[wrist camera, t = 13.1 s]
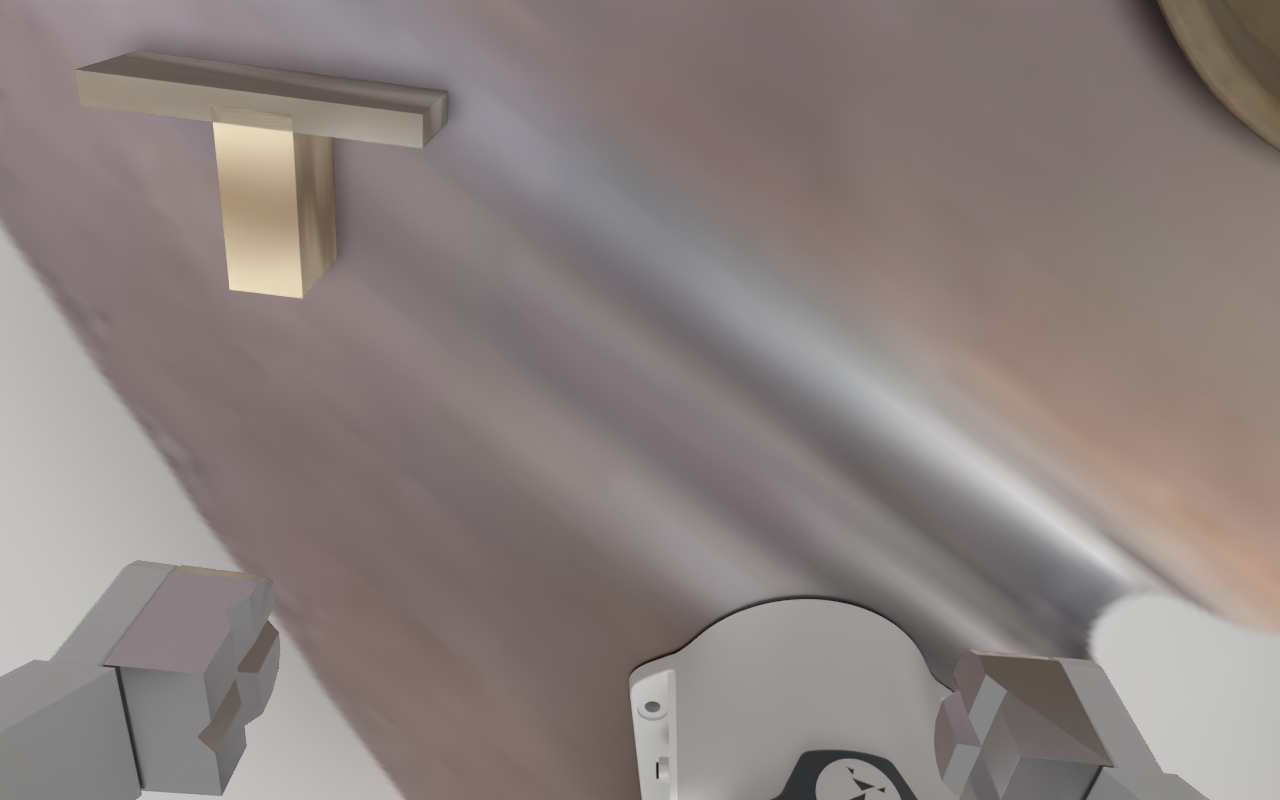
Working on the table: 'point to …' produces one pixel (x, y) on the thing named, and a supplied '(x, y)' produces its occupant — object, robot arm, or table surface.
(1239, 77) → the plant saucer
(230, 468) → the table surface
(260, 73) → the scraper
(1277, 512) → the table surface
